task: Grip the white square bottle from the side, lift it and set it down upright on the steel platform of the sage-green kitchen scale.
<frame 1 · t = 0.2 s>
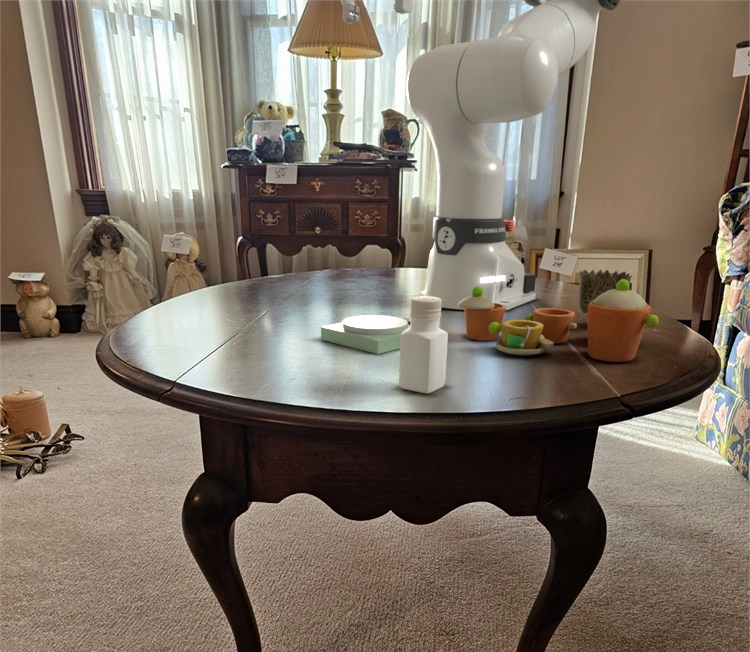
hand: (375, 17, 85), 39 cm above the table, tool pointing down, fingers open, 8 cm apart
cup: (596, 327, 101), on the table
scale: (379, 339, 92), on the table
white square bottle: (421, 389, 72), on the table
toy tea set: (550, 348, 89), on the table
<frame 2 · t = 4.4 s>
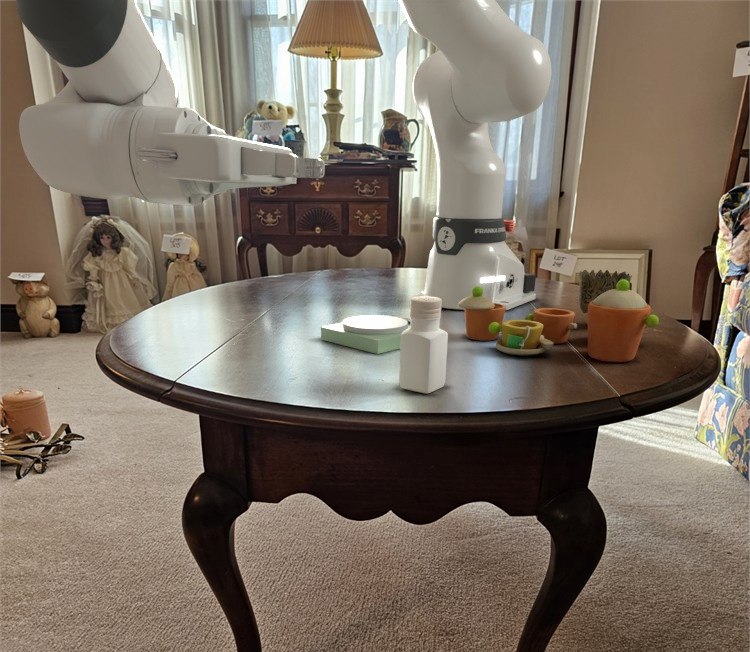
hand: (310, 167, 64), 21 cm above the table, tool horizontal, fingers open, 8 cm apart
nothing on the table moved.
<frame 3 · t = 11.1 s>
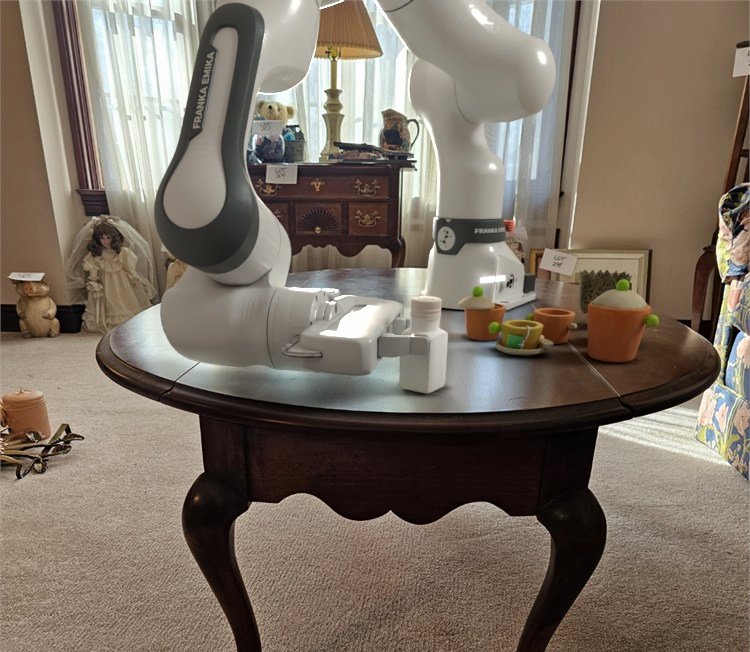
hand: (432, 338, 69), 6 cm above the table, tool horizontal, fingers closed on white square bottle, 5 cm apart
white square bottle: (421, 389, 72), on the table, touching gripper
everything else where it was.
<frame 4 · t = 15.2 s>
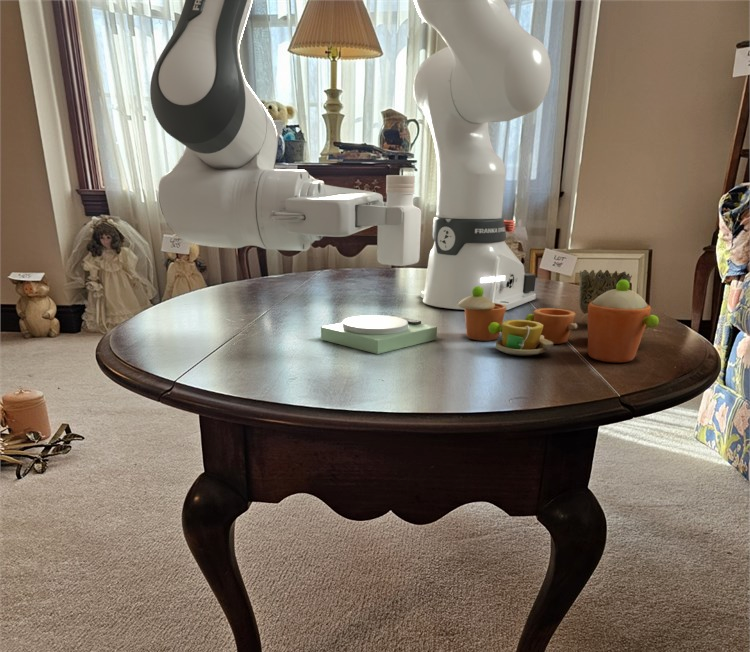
hand: (407, 214, 76), 17 cm above the table, tool horizontal, fingers closed on white square bottle, 5 cm apart
white square bottle: (398, 265, 78), point 11 cm above the table, touching gripper
everything else where it was.
when the fingers open (8 cm above the table, at t = 19.3 s): white square bottle stays where it is, resting on scale.
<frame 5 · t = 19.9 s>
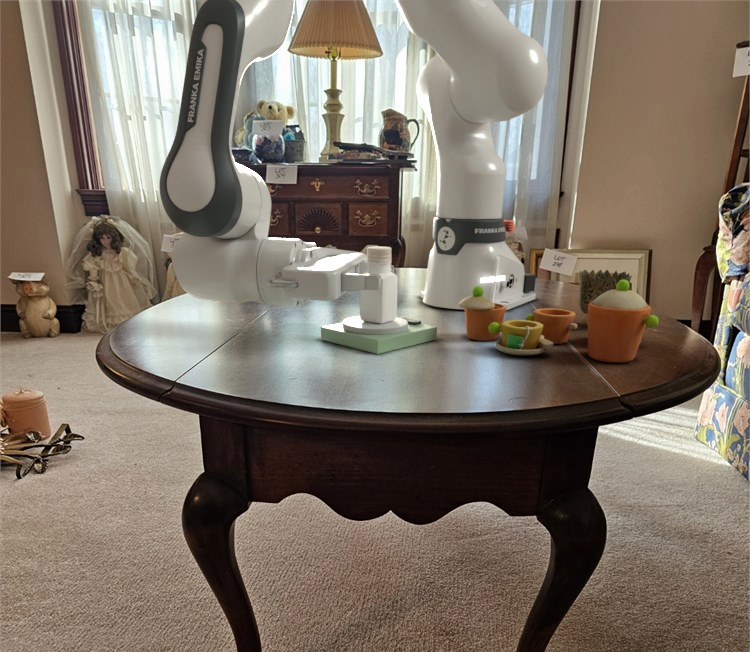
hand: (386, 276, 88), 8 cm above the table, tool horizontal, fingers open, 8 cm apart
white square bottle: (378, 322, 90), point 2 cm above the table, touching scale
everything else where it was.
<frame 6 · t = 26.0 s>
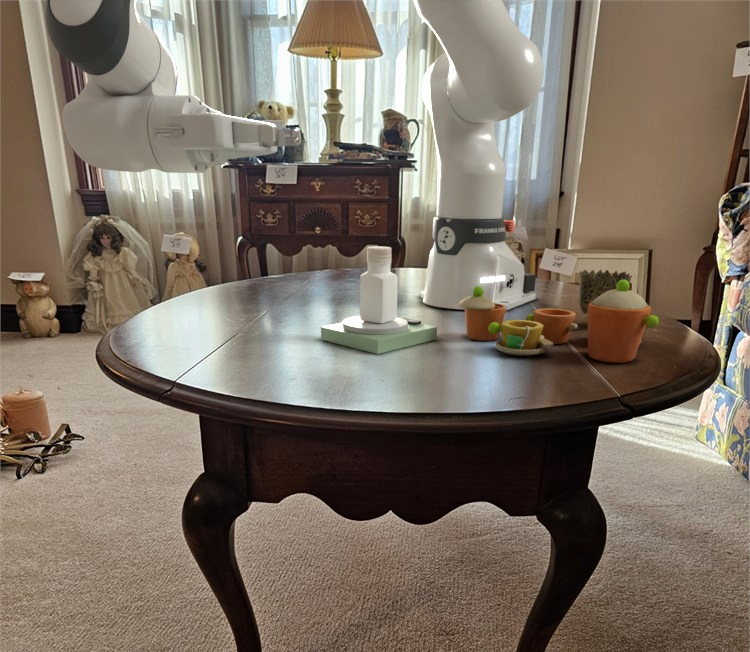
hand: (287, 135, 82), 25 cm above the table, tool horizontal, fingers open, 8 cm apart
nothing on the table moved.
at the end: white square bottle inside the target area on the scale (0.3 cm from its centre), point 2.4 cm above the scale's base; white square bottle tilted 0° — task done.
